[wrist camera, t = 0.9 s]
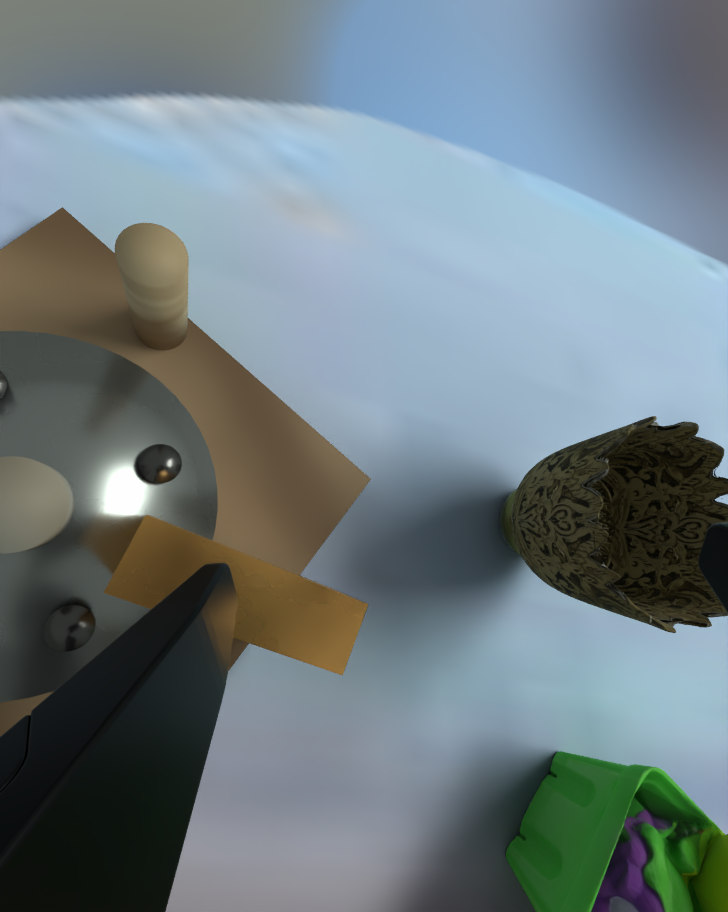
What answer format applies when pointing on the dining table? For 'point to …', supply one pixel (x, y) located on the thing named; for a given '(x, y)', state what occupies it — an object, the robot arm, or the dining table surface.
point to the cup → (624, 522)
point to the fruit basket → (618, 843)
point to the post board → (199, 390)
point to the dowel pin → (155, 283)
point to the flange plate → (128, 522)
